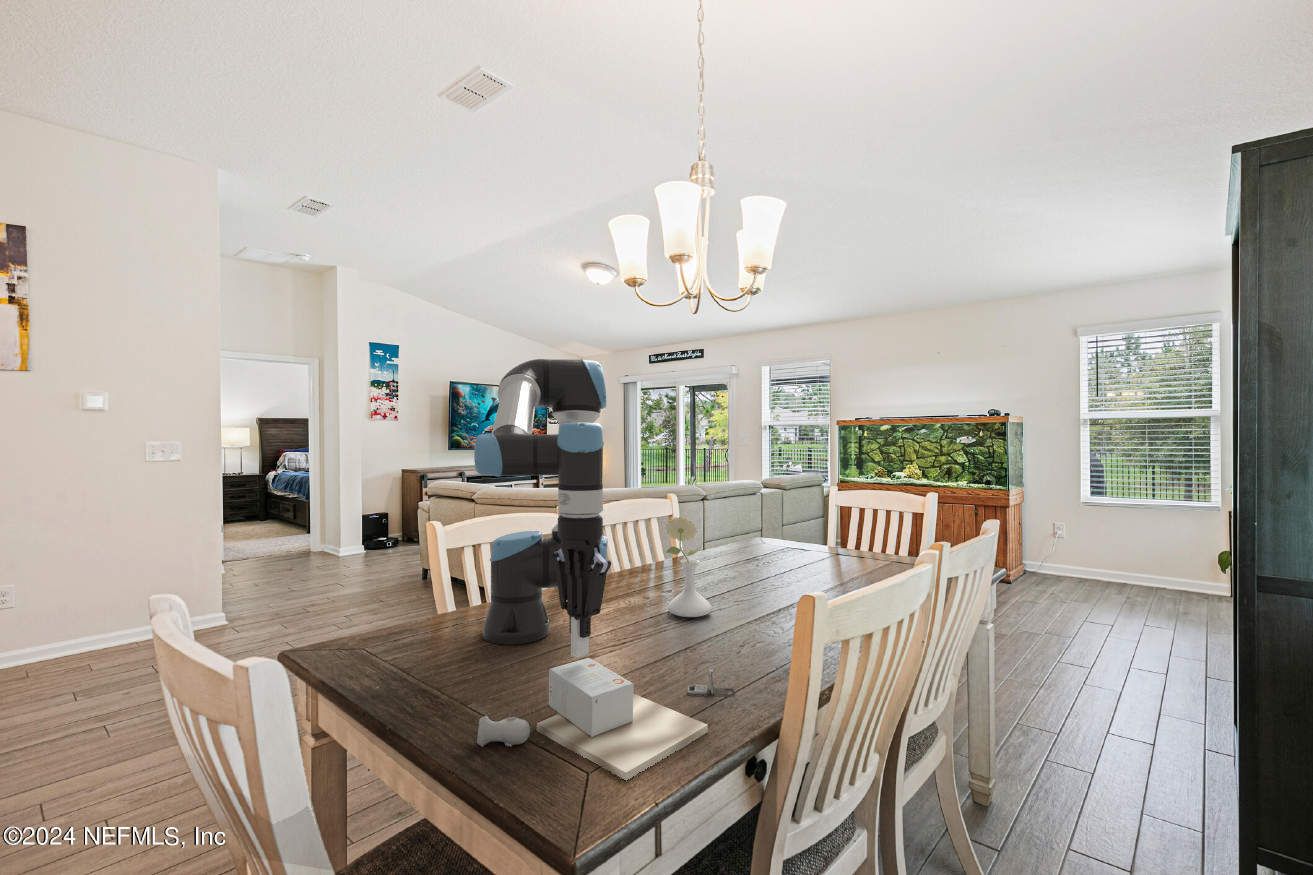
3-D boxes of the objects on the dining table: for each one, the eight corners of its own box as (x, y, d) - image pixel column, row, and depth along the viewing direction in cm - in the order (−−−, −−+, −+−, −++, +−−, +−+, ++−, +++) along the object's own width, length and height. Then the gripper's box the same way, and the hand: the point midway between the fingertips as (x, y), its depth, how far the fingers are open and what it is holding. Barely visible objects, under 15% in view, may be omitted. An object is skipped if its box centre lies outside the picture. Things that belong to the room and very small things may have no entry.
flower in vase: (719, 612, 157) (719, 516, 156) (698, 624, 147) (698, 522, 147) (676, 604, 164) (676, 512, 163) (653, 615, 154) (654, 517, 154)
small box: (547, 705, 100) (590, 738, 90) (548, 668, 100) (591, 696, 90) (588, 692, 105) (633, 722, 95) (589, 656, 105) (634, 682, 95)
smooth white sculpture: (532, 743, 93) (525, 750, 88) (481, 742, 93) (470, 748, 88) (534, 713, 94) (527, 718, 89) (484, 711, 94) (474, 716, 90)
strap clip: (687, 697, 107) (687, 673, 107) (687, 689, 110) (687, 666, 110) (735, 698, 107) (735, 674, 107) (733, 690, 110) (733, 667, 110)
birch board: (536, 730, 94) (536, 723, 94) (619, 694, 108) (619, 687, 108) (626, 781, 81) (626, 772, 81) (707, 732, 94) (707, 724, 94)
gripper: (538, 512, 102) (538, 650, 102) (588, 520, 93) (588, 671, 94) (573, 509, 108) (572, 640, 108) (623, 515, 99) (623, 658, 99)
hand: (579, 654), depth 101 cm, fingers closed
